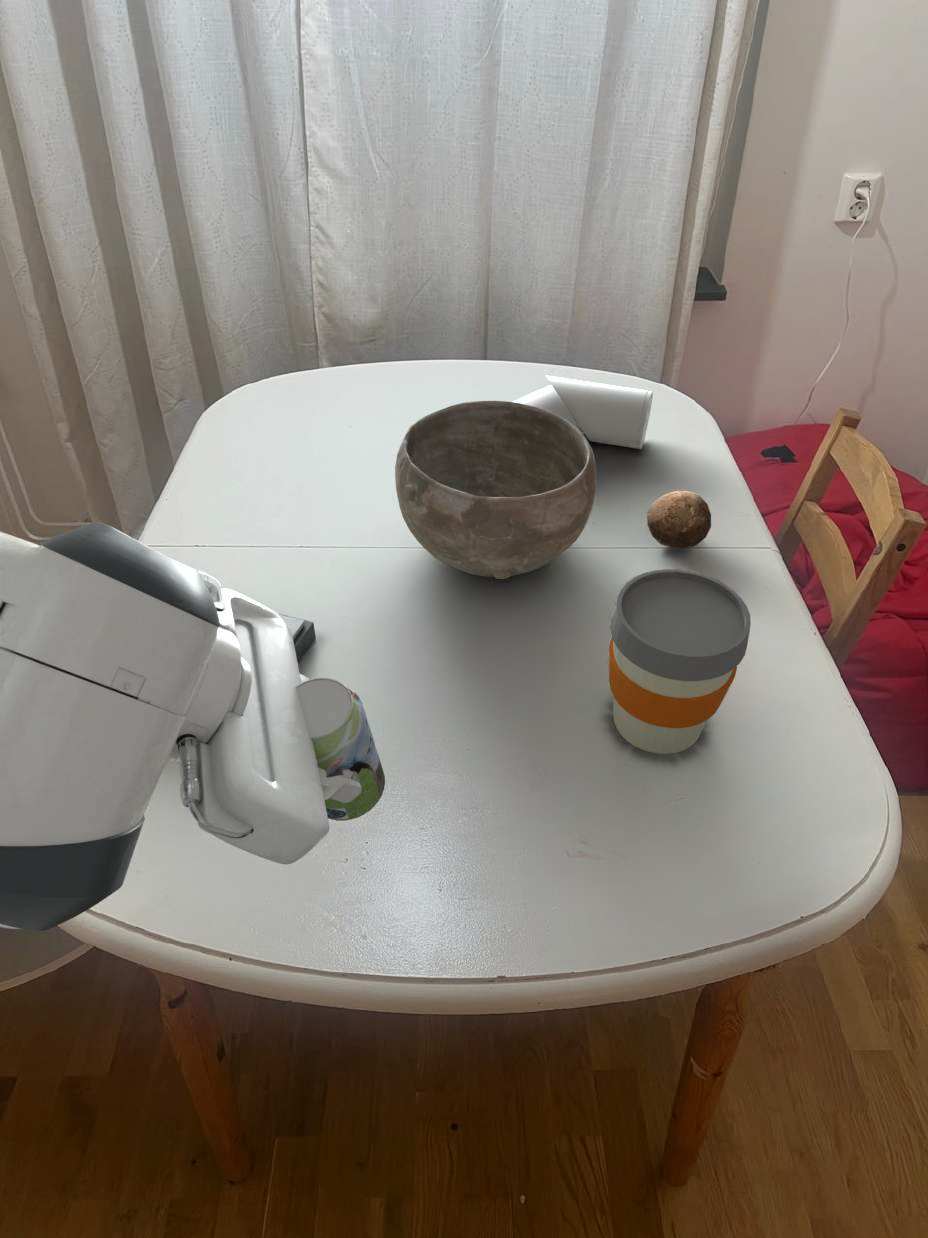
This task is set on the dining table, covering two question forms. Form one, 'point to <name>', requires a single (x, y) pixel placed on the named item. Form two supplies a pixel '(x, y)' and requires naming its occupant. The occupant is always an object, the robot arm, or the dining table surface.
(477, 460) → the bowl
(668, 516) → the brown potato
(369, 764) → the beverage can
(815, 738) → the dining table surface
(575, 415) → the elbow connector
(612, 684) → the reusable coffee cup
